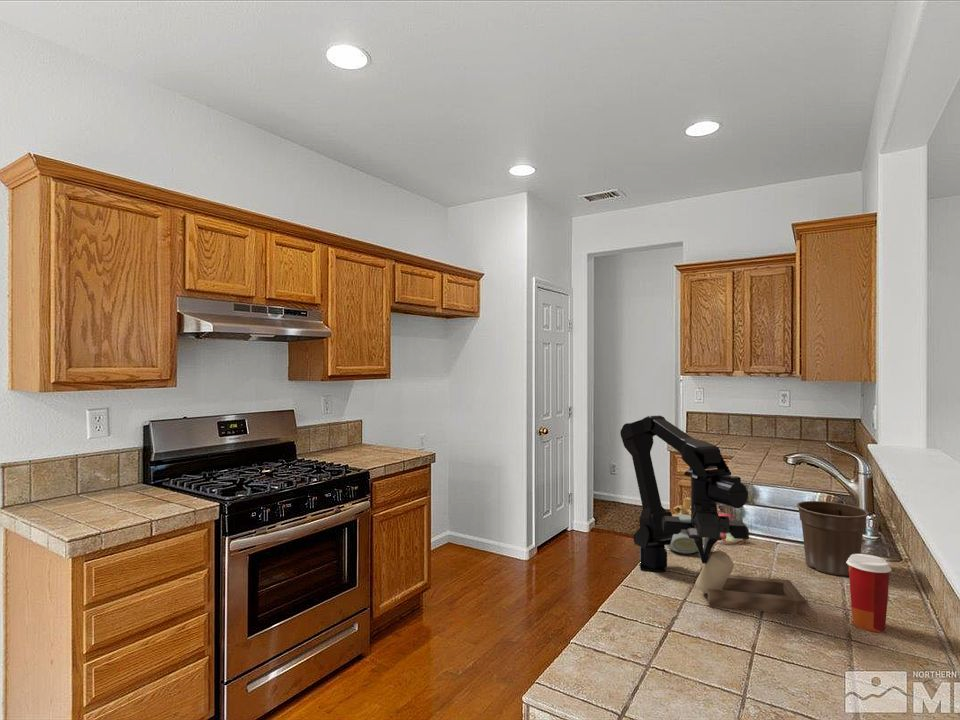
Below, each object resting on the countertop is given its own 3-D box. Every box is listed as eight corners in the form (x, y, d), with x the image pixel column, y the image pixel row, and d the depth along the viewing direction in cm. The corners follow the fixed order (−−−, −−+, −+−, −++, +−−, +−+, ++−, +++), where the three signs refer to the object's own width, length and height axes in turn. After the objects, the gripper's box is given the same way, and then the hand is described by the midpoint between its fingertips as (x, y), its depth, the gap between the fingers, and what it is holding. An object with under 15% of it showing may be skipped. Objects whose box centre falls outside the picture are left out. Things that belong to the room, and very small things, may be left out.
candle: (720, 601, 126) (740, 563, 125) (697, 589, 127) (717, 552, 126) (714, 590, 132) (732, 554, 131) (692, 579, 133) (711, 543, 132)
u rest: (709, 605, 124) (709, 592, 124) (700, 584, 135) (700, 572, 135) (806, 615, 119) (806, 601, 119) (789, 592, 131) (789, 580, 131)
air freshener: (701, 547, 162) (701, 513, 162) (705, 557, 154) (705, 522, 154) (662, 544, 165) (662, 511, 165) (665, 554, 157) (665, 519, 157)
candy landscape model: (656, 533, 177) (655, 504, 177) (678, 516, 195) (678, 490, 195) (739, 549, 162) (739, 518, 162) (754, 529, 180) (754, 501, 180)
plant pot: (792, 553, 157) (792, 497, 157) (858, 561, 151) (858, 503, 151) (802, 574, 142) (802, 512, 142) (876, 583, 136) (876, 519, 136)
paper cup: (883, 620, 117) (883, 555, 117) (897, 637, 110) (897, 568, 110) (841, 614, 119) (841, 551, 119) (852, 631, 112) (852, 563, 112)
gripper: (665, 503, 124) (665, 572, 124) (755, 509, 120) (755, 580, 120) (661, 492, 135) (661, 555, 135) (743, 496, 130) (743, 561, 130)
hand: (703, 562), depth 130 cm, fingers closed
